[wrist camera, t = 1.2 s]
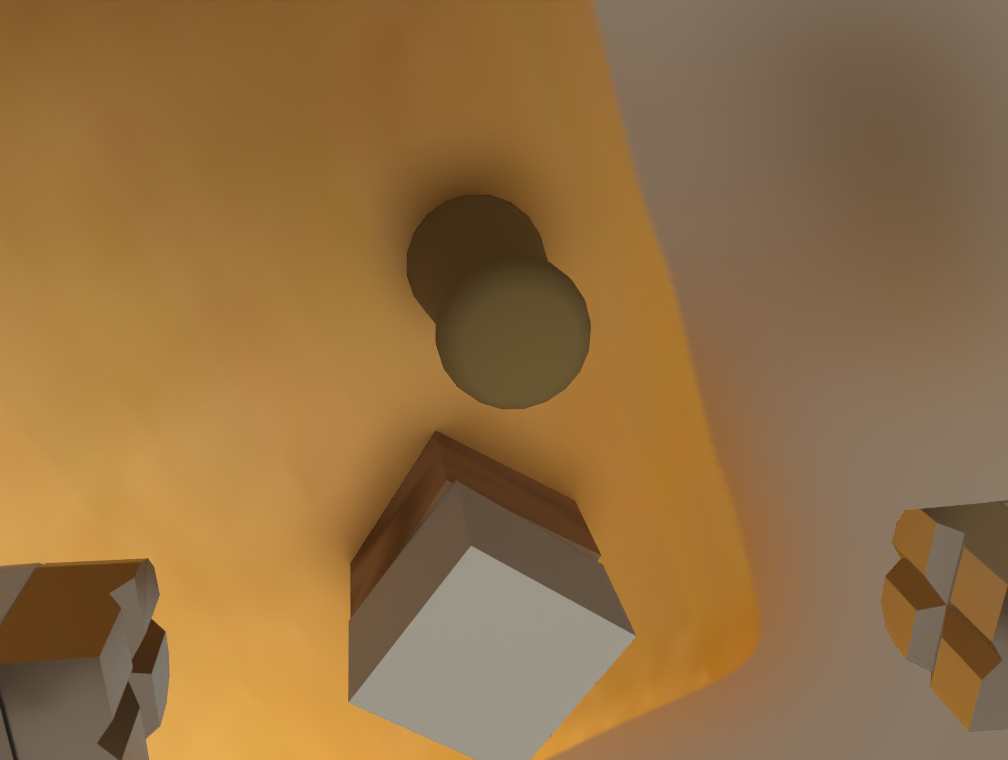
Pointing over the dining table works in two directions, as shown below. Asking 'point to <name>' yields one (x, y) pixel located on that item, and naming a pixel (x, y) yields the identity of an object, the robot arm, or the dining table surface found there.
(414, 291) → the cork
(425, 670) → the grey block
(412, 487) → the walnut block
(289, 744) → the dining table surface
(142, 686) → the robot arm
